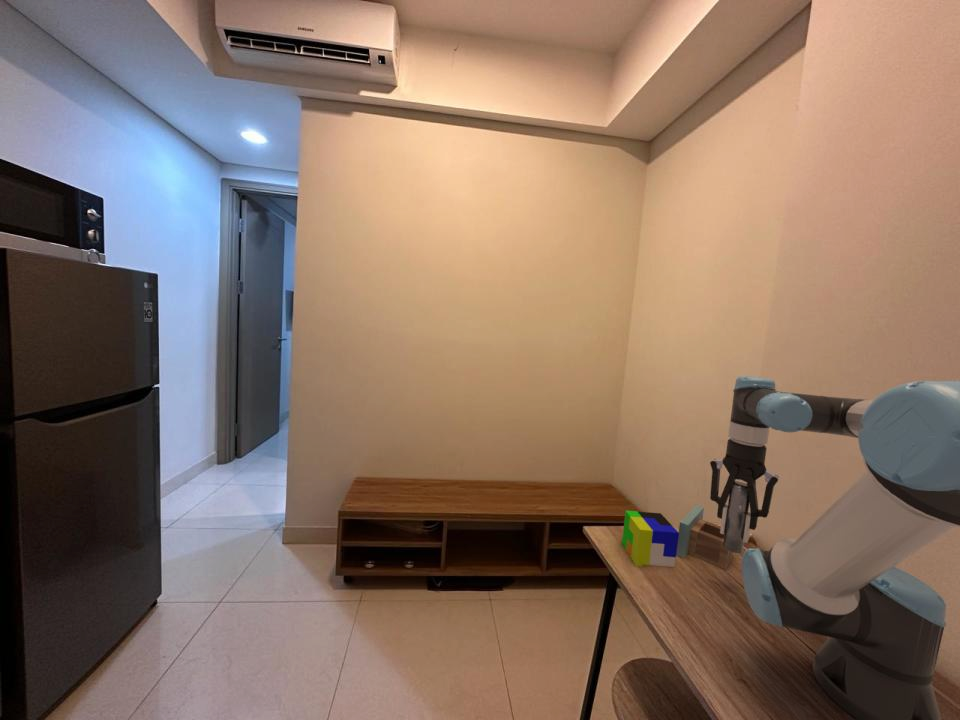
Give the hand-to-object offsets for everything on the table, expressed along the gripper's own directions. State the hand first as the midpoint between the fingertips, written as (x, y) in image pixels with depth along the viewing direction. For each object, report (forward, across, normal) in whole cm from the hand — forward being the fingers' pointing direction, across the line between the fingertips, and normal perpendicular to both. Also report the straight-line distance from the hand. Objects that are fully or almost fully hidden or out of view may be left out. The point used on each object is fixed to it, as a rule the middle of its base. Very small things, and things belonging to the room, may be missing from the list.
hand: (734, 535), depth 89 cm
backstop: (+13, +2, -12) cm, 18 cm away
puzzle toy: (+13, +18, +2) cm, 23 cm away
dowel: (+3, 0, 0) cm, 3 cm away
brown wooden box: (+12, +6, -12) cm, 18 cm away
